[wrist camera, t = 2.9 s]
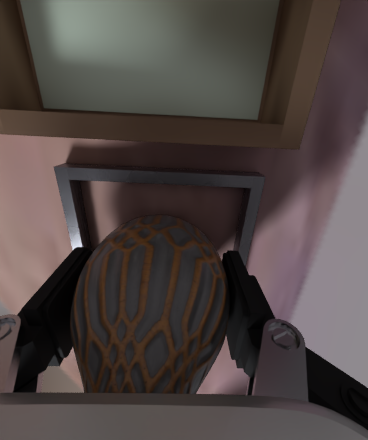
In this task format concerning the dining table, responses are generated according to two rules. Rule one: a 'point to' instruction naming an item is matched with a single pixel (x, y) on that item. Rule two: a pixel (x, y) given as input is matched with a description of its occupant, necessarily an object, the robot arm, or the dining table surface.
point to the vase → (150, 309)
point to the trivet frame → (73, 173)
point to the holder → (163, 69)
